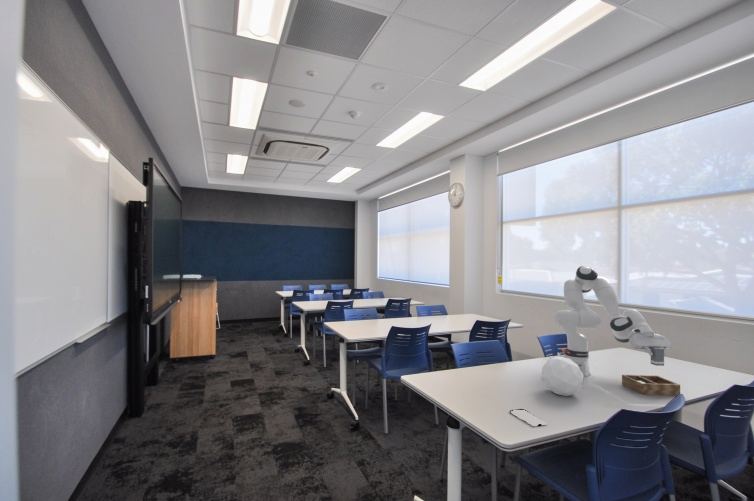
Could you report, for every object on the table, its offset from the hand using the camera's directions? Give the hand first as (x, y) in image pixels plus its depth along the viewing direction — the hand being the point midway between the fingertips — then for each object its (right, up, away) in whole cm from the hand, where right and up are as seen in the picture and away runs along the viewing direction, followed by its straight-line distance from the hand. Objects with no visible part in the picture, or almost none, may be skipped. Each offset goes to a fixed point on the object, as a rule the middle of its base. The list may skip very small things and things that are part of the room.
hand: (658, 355), depth 190 cm
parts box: (-4, -19, 0) cm, 20 cm away
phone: (-87, -17, -37) cm, 97 cm away
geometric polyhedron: (-56, -18, -8) cm, 60 cm away
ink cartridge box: (-46, -19, +18) cm, 54 cm away
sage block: (-10, -18, 0) cm, 21 cm away
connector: (0, -5, 0) cm, 5 cm away
